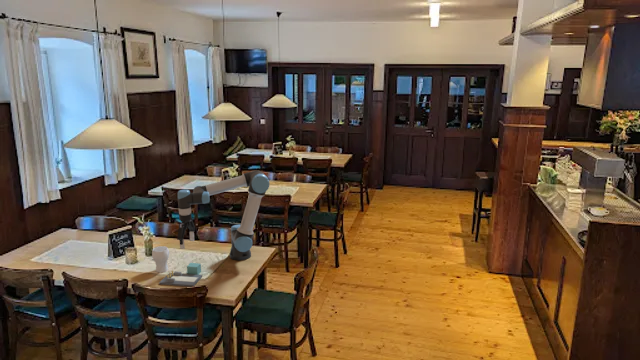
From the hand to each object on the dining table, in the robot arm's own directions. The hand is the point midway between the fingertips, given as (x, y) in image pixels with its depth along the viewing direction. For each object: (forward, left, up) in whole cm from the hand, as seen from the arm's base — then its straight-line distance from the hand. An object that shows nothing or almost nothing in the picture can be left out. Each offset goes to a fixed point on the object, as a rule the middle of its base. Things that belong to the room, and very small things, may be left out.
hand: (187, 244), depth 291 cm
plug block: (-5, +3, -18) cm, 19 cm away
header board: (-1, +14, -18) cm, 23 cm away
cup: (+18, +2, -18) cm, 26 cm away
